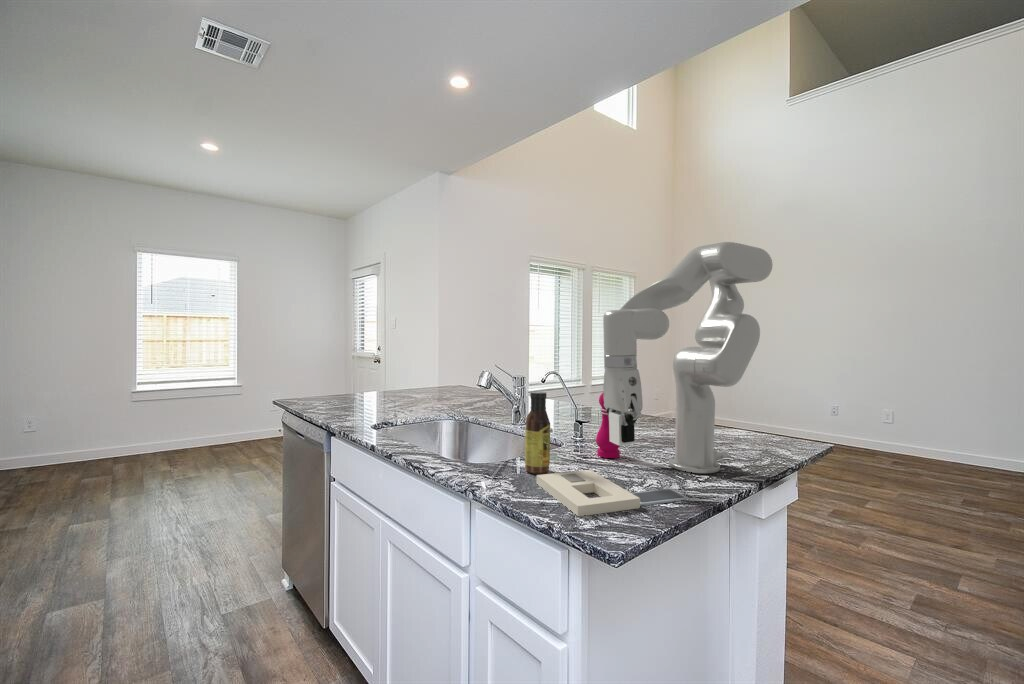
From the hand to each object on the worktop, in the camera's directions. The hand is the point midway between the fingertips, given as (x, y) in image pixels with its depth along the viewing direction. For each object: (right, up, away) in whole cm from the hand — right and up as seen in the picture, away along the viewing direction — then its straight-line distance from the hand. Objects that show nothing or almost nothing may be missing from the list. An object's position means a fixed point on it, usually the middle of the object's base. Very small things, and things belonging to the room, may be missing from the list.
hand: (622, 438), depth 111 cm
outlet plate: (-10, -10, -10) cm, 18 cm away
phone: (+5, -11, -11) cm, 16 cm away
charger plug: (0, -1, 0) cm, 1 cm away
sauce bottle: (-20, -10, +7) cm, 23 cm away
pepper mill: (+1, -10, +22) cm, 24 cm away
